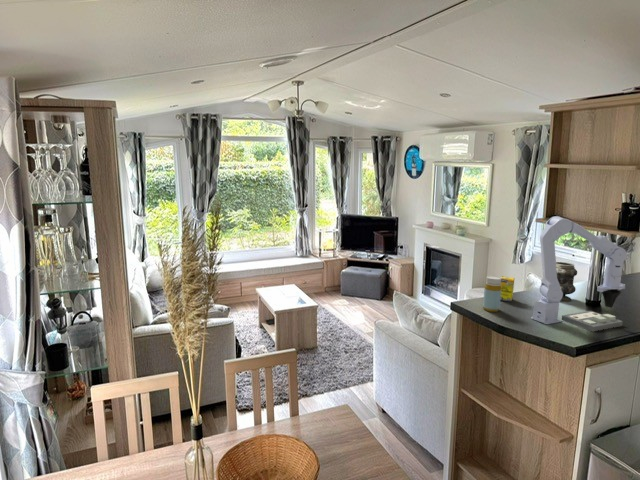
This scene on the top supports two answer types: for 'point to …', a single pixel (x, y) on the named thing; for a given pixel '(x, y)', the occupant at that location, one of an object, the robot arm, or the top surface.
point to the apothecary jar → (566, 279)
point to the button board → (587, 315)
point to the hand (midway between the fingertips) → (608, 306)
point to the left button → (589, 322)
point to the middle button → (599, 319)
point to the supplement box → (507, 288)
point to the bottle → (492, 294)
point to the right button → (609, 317)
